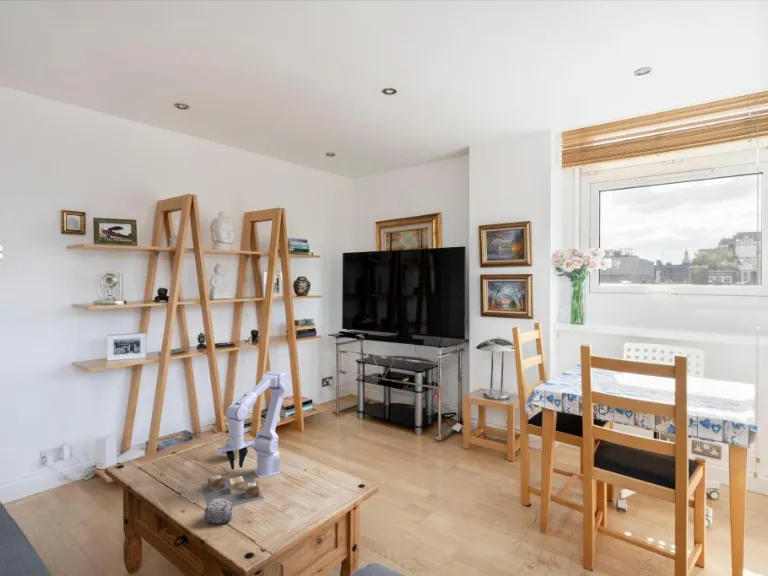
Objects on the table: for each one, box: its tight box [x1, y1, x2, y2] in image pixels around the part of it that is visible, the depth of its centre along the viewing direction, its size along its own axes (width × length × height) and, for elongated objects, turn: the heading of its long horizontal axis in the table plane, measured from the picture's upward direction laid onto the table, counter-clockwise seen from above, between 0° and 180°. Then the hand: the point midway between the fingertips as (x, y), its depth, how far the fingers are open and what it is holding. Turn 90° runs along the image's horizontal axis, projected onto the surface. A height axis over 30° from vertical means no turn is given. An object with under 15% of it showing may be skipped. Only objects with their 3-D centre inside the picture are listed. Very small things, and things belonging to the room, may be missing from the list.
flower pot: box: [224, 437, 246, 461], centre depth 201 cm, size 9×9×9 cm
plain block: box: [229, 475, 244, 494], centre depth 170 cm, size 5×5×4 cm
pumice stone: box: [203, 499, 233, 525], centre depth 149 cm, size 10×8×10 cm
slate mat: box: [200, 472, 264, 507], centre depth 169 cm, size 20×24×1 cm
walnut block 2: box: [245, 480, 260, 499], centre depth 166 cm, size 5×5×4 cm
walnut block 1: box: [207, 473, 226, 492], centre depth 172 cm, size 5×5×4 cm
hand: (236, 467), depth 170 cm, fingers open, 3 cm apart
